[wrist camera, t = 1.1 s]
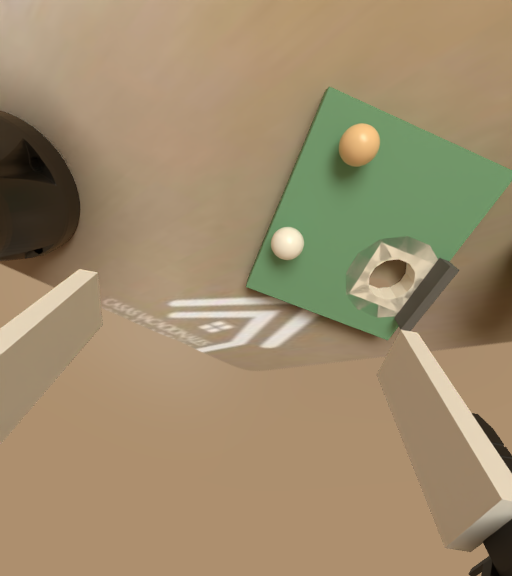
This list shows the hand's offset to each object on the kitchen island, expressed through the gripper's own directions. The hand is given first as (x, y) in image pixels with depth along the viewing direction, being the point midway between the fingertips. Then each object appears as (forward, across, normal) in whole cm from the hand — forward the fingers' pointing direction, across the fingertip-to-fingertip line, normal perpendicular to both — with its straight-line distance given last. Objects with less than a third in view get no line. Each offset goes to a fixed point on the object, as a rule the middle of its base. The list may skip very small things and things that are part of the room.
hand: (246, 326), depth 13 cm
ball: (+17, +3, -2) cm, 17 cm away
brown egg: (+17, +7, +8) cm, 20 cm away
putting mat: (+21, +10, 0) cm, 23 cm away
